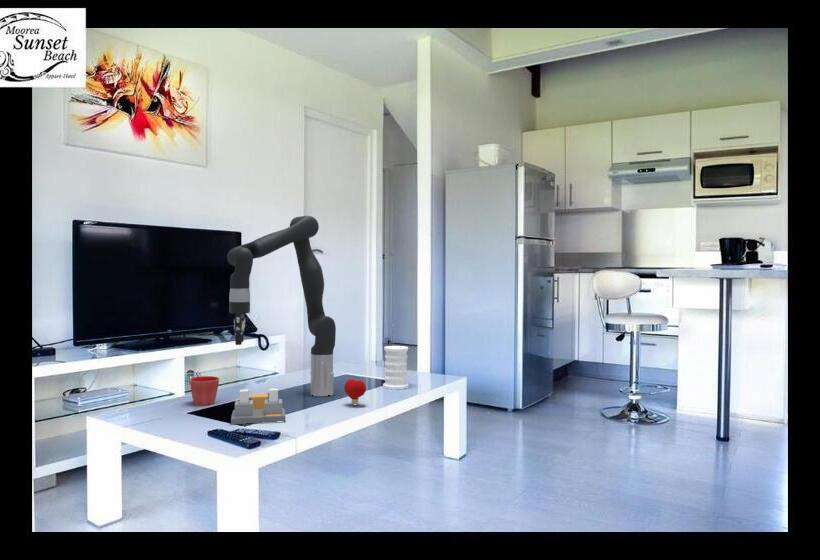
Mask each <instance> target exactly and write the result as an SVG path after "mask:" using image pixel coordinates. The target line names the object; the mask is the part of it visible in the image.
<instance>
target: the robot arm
mask: <svg viewBox="0 0 820 560" xmlns="http://www.w3.org/2000/svg"><path fill="white" fill-rule="evenodd" d="M319 229H320V226H319V222H318V220H317V219H316V218H315V217H314V216H311V215H302V216H296V217H293V218H292V219H291V220H290V223H289V226H288V227H286V228H284V229H280V230H278V231H274V232H271V233H268V234H265V235H263V236H261V237H259V238H256V239H254V240H253V241H250V242H247V243H244V244H241V245H238V246H235V247H233V248H231V249H230V250H229V251H228V253H227V255H226V258H227V259H226V260H227V262H228V264H230V265H232V266H234V267H235V268H234V272H233V273H232V274H231V275H230V279H229V288H230V289H229V294H228V295H229V297H228V298H229V300H228V301H229V303H228V304H229V306H228V308H229V309H228V310H229V311H228V312H229V313H230V314H233V315H234V314H235V317H234V318H233V330H234V332H233V334H234V336H235V339H234V340H235V345H236V346H241V345H242V344H243V342H244V336H245V335H244V334H245V333H244V332H245V328H246V317H245V314H249V313H250V312H251V292H250V277H251V273H252V268H253V263H254V262H253V261H254V259H259V258H263V257H265V256H267V255H269V254H271V253H273V252H275V251H277V250H279V249H281V248H284V247H286V246H288V245H290V244H292V243H293V247H294V250H295V254H296V260H297V263H298V270H299V275H300V281H301V285H302V290H303V295H304V297H303V298H304V301H305V305H306V315H307V316H306V317H307V327H308V330H309V332H310V334H311V335H312V336H314V337H315V338H314V344H313V345H312V346H311V349H310V396H312V395H313V397H329V396H328V395H330V396H334V349H335V346H336V333H337V332H336V331H337V329H336V328H337V327H336V326H337V325H336V322H335V321H334V319H333V318H332V317H330V316H327V315H326V314H325V310H324V305H323V298H324V291H325V279H324V274H323V273H324V272H323V269H322V265H321V264H320V262H319V260H318V259H317V257H316V256H315V254H314V252H313V250H312V247H311V241H310V238H313V237H315V236H316V234H318V232H319Z"/></svg>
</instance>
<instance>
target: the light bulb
mask: <svg viewBox="0 0 820 560" xmlns="http://www.w3.org/2000/svg"><path fill="white" fill-rule="evenodd" d="M366 389H367V387H366V383H365V382H364V381H363V380H361V379H359V380H356V379H354V378H350V379H347V380H346V382H345V384H344V392H345V393H346V395H347V397H348V398H349V399H351V404H352V405H353V404H357V405H358V404H359V398H360V397H362V396H364V395H365V393H366Z"/></svg>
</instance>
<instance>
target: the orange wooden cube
mask: <svg viewBox="0 0 820 560" xmlns="http://www.w3.org/2000/svg"><path fill="white" fill-rule="evenodd" d="M250 400H253V409H265V400H269V393H268V392H267V393H266V392H265V393H251V394H250Z"/></svg>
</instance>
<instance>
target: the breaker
mask: <svg viewBox="0 0 820 560" xmlns="http://www.w3.org/2000/svg"><path fill="white" fill-rule="evenodd" d="M249 391H250V389H239V400H238V401H239V404H246V403H249V400H250V399H249V398H250V397H249V396H250V393H249Z"/></svg>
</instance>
